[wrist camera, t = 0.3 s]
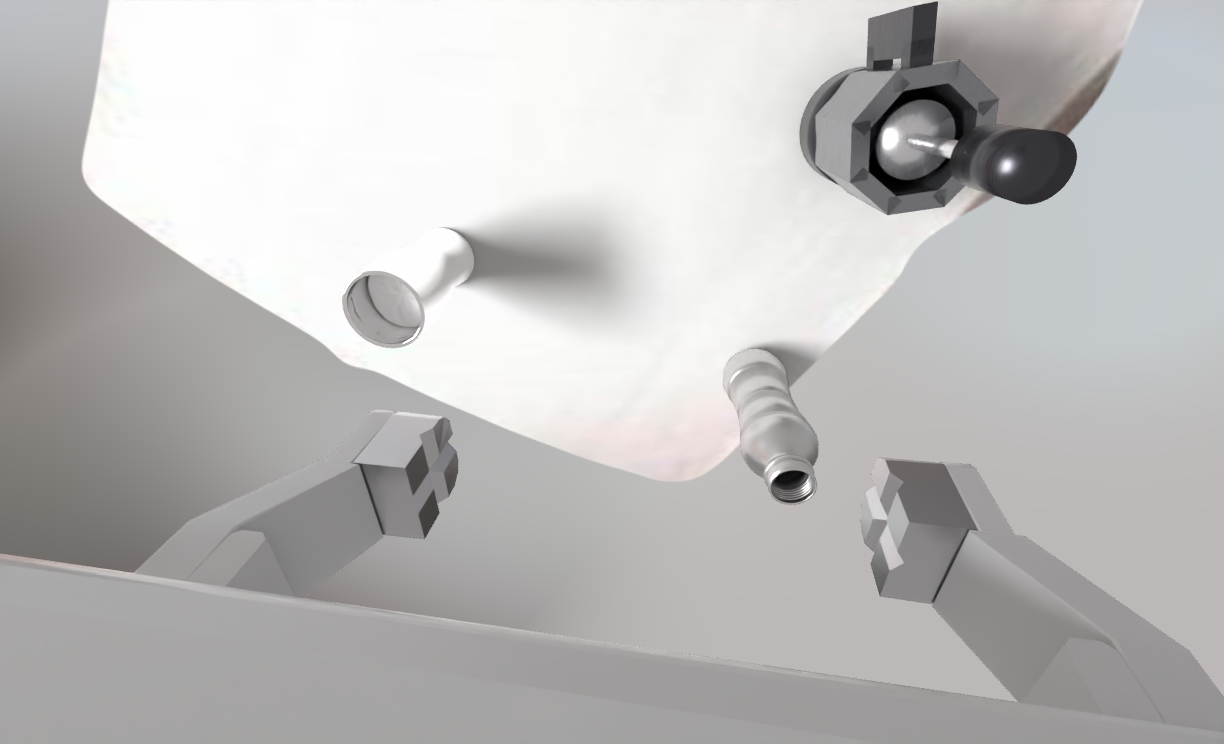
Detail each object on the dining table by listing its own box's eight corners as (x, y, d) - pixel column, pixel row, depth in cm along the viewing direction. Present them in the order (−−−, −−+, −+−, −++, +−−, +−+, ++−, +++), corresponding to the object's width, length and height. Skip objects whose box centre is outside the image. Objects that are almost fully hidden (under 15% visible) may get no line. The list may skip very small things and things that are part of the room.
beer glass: (480, 228, 55) (426, 275, 42) (477, 294, 59) (427, 356, 45) (410, 217, 55) (335, 261, 42) (412, 283, 59) (342, 343, 45)
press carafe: (798, 33, 46) (853, 16, 34) (915, 11, 45) (1016, -15, 33) (800, 188, 52) (847, 222, 39) (903, 172, 51) (986, 202, 38)
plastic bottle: (736, 332, 59) (773, 441, 41) (793, 354, 60) (854, 470, 42) (709, 382, 62) (733, 502, 44) (764, 402, 63) (809, 529, 45)
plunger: (875, 106, 37) (988, 119, 25) (954, 93, 37) (1111, 100, 24) (872, 183, 40) (973, 230, 27) (946, 172, 39) (1085, 214, 27)
